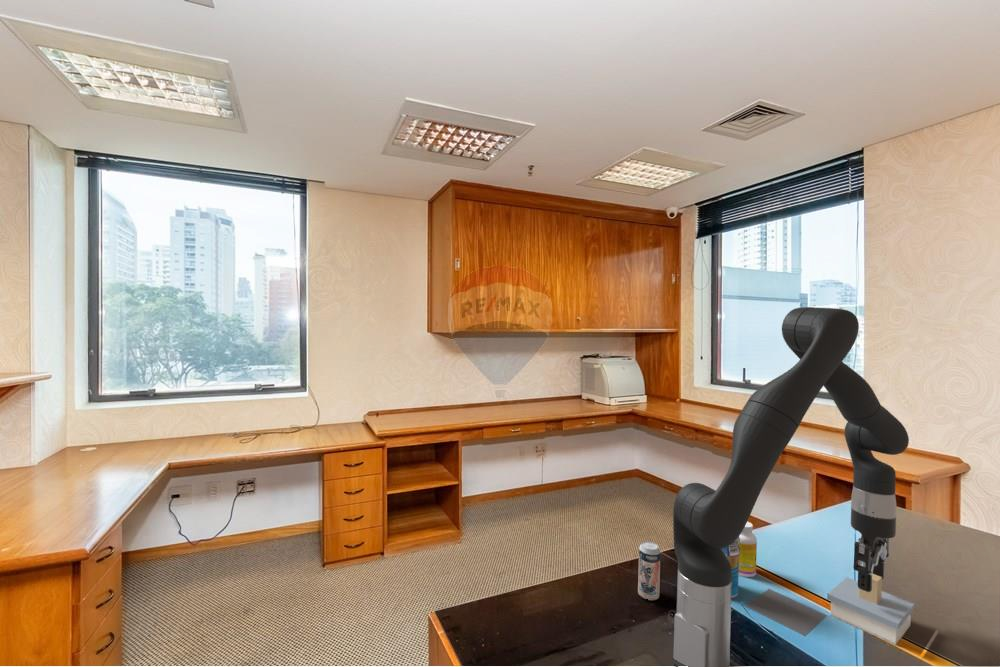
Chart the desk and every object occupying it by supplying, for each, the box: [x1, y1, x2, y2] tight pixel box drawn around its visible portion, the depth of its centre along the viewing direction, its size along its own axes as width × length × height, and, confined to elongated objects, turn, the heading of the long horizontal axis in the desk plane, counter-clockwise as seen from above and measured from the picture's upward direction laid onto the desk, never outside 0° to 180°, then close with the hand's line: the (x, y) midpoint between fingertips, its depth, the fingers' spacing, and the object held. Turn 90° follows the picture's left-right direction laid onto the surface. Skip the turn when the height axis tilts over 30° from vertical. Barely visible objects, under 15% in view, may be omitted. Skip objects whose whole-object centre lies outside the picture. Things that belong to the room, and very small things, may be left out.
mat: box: [744, 588, 828, 637], centre depth 99 cm, size 12×12×1 cm
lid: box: [826, 574, 916, 630], centre depth 96 cm, size 12×12×6 cm
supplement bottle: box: [738, 520, 758, 578], centre depth 116 cm, size 7×7×13 cm
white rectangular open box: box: [830, 601, 912, 646], centre depth 96 cm, size 11×11×4 cm
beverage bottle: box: [721, 537, 740, 599], centre depth 107 cm, size 8×8×20 cm
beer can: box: [637, 541, 661, 601], centre depth 104 cm, size 5×5×12 cm
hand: (870, 583), depth 96 cm, fingers open, 8 cm apart
